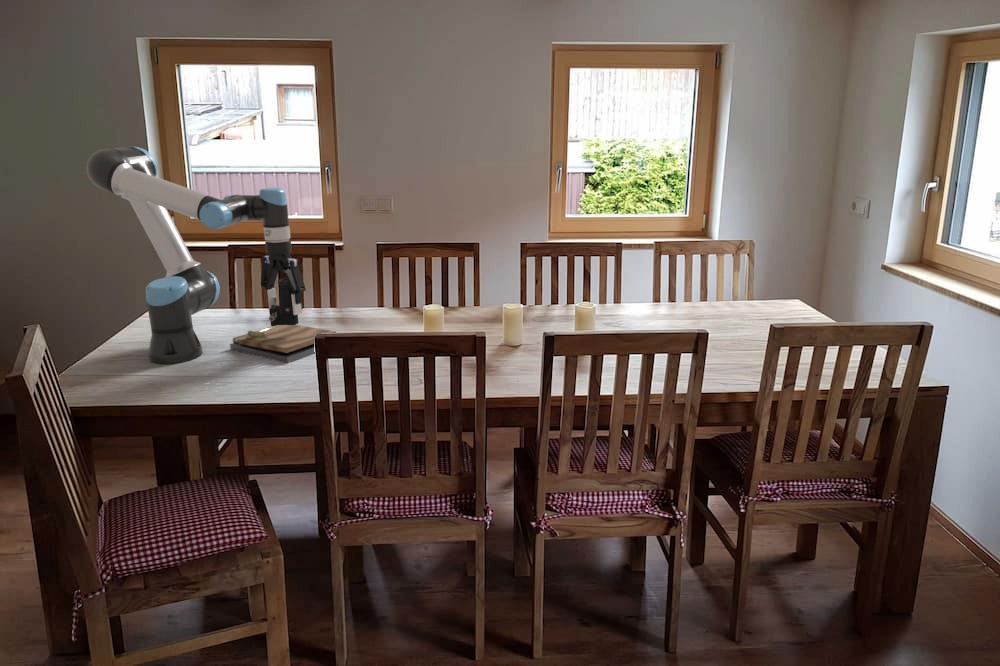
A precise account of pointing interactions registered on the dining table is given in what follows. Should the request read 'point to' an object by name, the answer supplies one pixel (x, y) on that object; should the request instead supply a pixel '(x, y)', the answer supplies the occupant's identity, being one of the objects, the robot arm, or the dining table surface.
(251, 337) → the board
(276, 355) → the stand
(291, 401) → the dining table surface
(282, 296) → the scope
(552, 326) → the dining table surface
